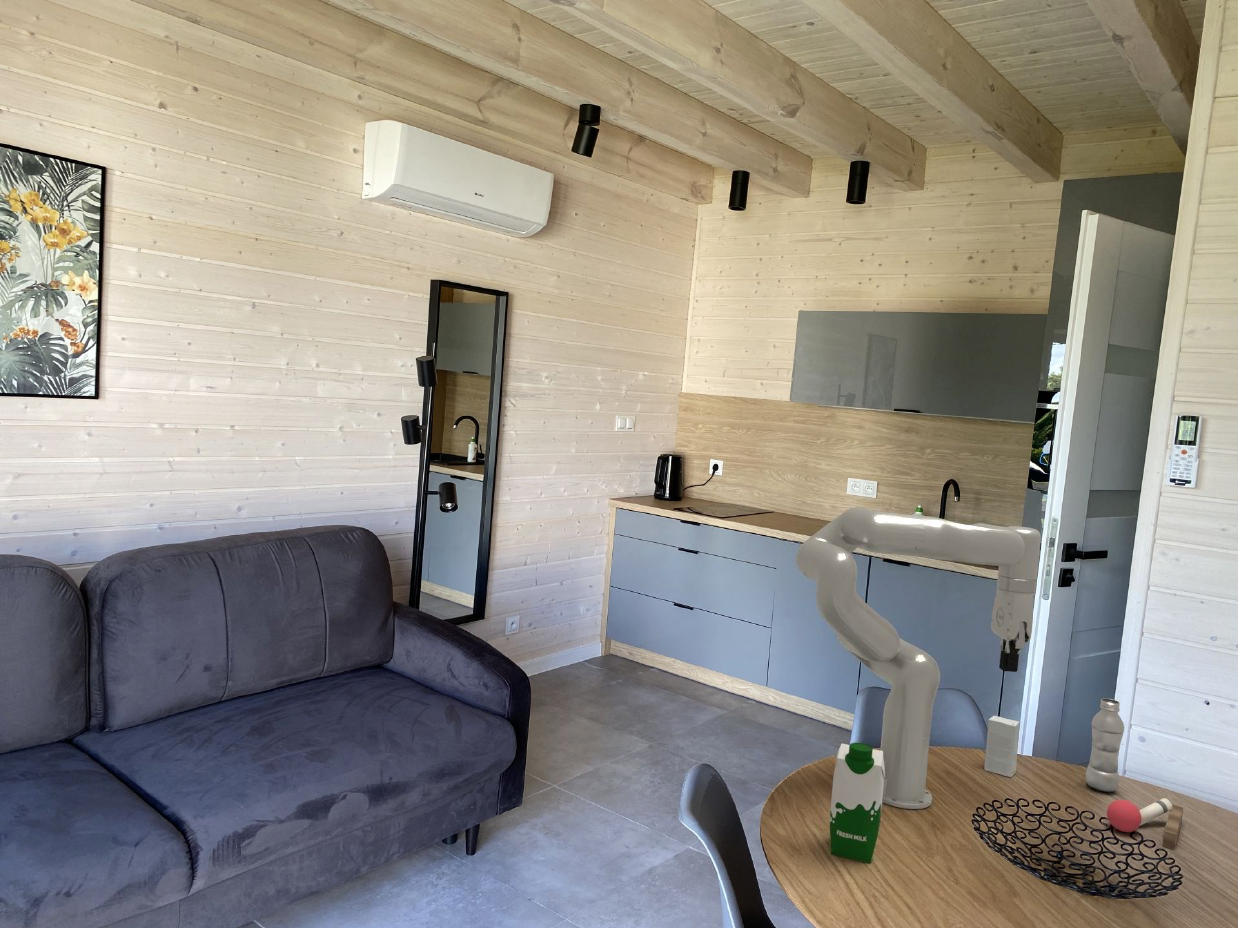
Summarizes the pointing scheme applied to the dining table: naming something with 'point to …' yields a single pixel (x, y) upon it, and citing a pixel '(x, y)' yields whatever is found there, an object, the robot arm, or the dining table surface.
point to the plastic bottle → (1105, 747)
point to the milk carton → (856, 801)
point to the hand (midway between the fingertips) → (1008, 670)
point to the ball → (1124, 815)
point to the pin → (1155, 810)
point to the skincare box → (1002, 746)
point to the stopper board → (1172, 827)
